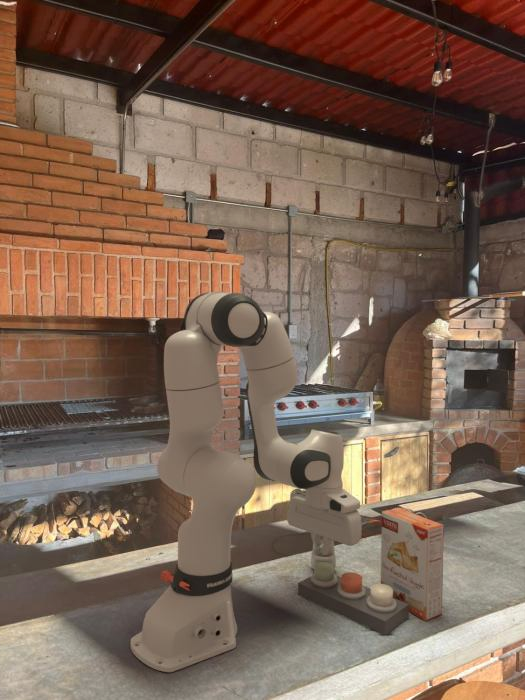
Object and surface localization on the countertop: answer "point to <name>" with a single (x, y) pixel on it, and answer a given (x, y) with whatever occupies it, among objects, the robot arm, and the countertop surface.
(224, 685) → the countertop surface
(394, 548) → the cracker box
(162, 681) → the countertop surface
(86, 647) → the countertop surface
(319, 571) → the button sage
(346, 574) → the button orange
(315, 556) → the plastic bottle
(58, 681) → the countertop surface
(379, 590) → the button cream
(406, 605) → the button panel
